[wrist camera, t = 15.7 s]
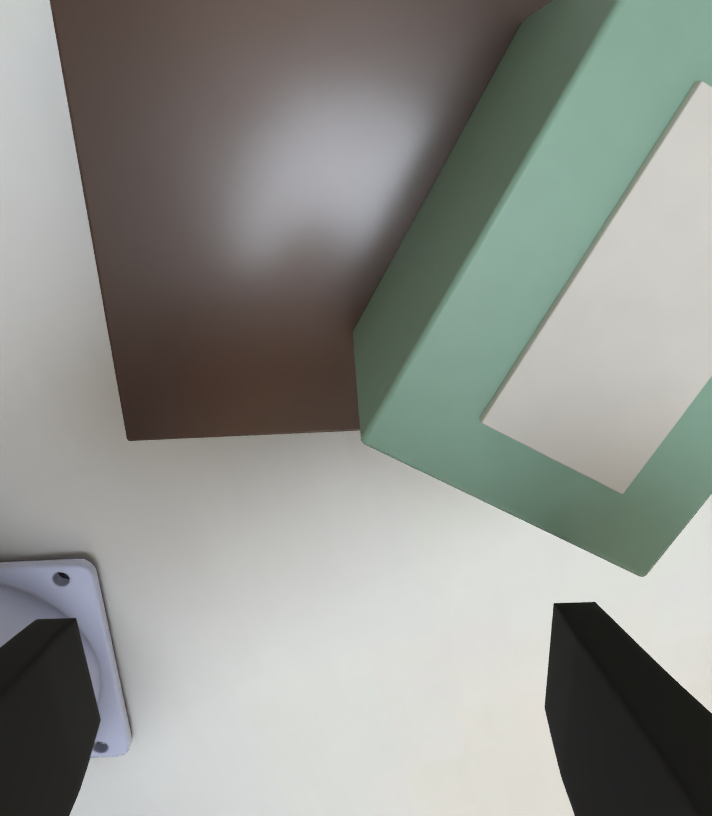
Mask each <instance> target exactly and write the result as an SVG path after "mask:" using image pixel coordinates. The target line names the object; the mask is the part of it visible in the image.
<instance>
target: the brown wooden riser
mask: <svg viewBox="0 0 712 816" xmlns="http://www.w3.org/2000/svg"><path fill="white" fill-rule="evenodd" d="M551 1H552V0H50V5H51V10H52V16H53V22H54V27H55V33H56V39H57V44H58V50H59V56H60V61H61V67H62V73H63V79H64V84H65V90H66V96H67V101H68V107H69V113H70V118H71V124H72V130H73V135H74V141H75V147H76V152H77V158H78V164H79V169H80V175H81V181H82V186H83V192H84V198H85V203H86V209H87V215H88V220H89V226H90V232H91V237H92V243H93V249H94V254H95V260H96V266H97V272H98V277H99V283H100V289H101V294H102V300H103V306H104V311H105V317H106V323H107V328H108V334H109V340H110V345H111V351H112V357H113V362H114V368H115V374H116V379H117V385H118V391H119V396H120V402H121V408H122V413H123V419H124V425H125V430H126V436H127V439H128V440H129V441H138V440H160V439H182V438H204V437H226V436H248V435H270V434H292V433H313V432H335V431H357V430H360V420H359V407H358V394H357V381H356V368H355V355H354V342H353V330H354V329H355V327H356V325H357V323H358V321H359V319H360V318H361V316H362V314H363V312H364V310H365V308H366V307H367V305H368V303H369V301H370V299H371V297H372V296H373V294H374V292H375V290H376V288H377V287H378V285H379V283H380V281H381V279H382V277H383V276H384V274H385V272H386V270H387V268H388V266H389V265H390V263H391V261H392V259H393V257H394V255H395V254H396V252H397V250H398V248H399V246H400V244H401V243H402V241H403V239H404V237H405V235H406V233H407V232H408V230H409V228H410V226H411V224H412V222H413V221H414V219H415V217H416V215H417V213H418V211H419V210H420V208H421V206H422V204H423V202H424V200H425V199H426V197H427V195H428V193H429V191H430V189H431V188H432V186H433V184H434V182H435V180H436V178H437V177H438V175H439V173H440V171H441V169H442V167H443V166H444V164H445V162H446V160H447V158H448V156H449V155H450V153H451V151H452V149H453V147H454V145H455V144H456V142H457V140H458V138H459V136H460V135H461V133H462V131H463V129H464V127H465V125H466V124H467V122H468V120H469V118H470V116H471V114H472V113H473V111H474V109H475V107H476V105H477V103H478V102H479V100H480V98H481V96H482V94H483V92H484V91H485V89H486V87H487V85H488V83H489V81H490V80H491V78H492V76H493V74H494V72H495V70H496V69H497V67H498V65H499V63H500V61H501V59H502V58H503V56H504V54H505V52H506V50H507V48H508V47H509V45H510V43H511V41H512V39H513V37H514V36H515V34H516V32H517V30H518V28H519V26H520V25H521V23H522V22H523V21H524V20H525V19H526V18H528V17H529V16H531V15H532V14H534V13H535V12H536V11H538V10H539V9H541V8H542V7H544V6H545V5H547V4H548V3H550V2H551Z"/></svg>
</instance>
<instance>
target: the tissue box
mask: <svg viewBox="0 0 712 816" xmlns="http://www.w3.org/2000/svg"><path fill="white" fill-rule="evenodd" d="M353 342H354V355H355V368H356V381H357V394H358V407H359V420H360V433H361V441H362V442H363V443H364V444H365V445H368V446H370V447H372V448H374V449H376V450H378V451H380V452H382V453H384V454H386V455H388V456H390V457H392V458H395V459H397V460H399V461H401V462H403V463H405V464H407V465H409V466H411V467H413V468H415V469H417V470H420V471H422V472H424V473H426V474H428V475H430V476H432V477H434V478H436V479H438V480H440V481H442V482H444V483H447V484H449V485H451V486H453V487H455V488H457V489H459V490H461V491H463V492H465V493H467V494H469V495H472V496H474V497H476V498H478V499H480V500H482V501H484V502H486V503H488V504H490V505H492V506H494V507H496V508H499V509H501V510H503V511H505V512H507V513H509V514H511V515H513V516H515V517H517V518H519V519H521V520H524V521H526V522H528V523H530V524H532V525H534V526H536V527H538V528H540V529H542V530H544V531H546V532H548V533H551V534H553V535H555V536H557V537H559V538H561V539H563V540H565V541H567V542H569V543H571V544H573V545H576V546H578V547H580V548H582V549H584V550H586V551H588V552H590V553H592V554H594V555H596V556H598V557H600V558H603V559H605V560H607V561H609V562H611V563H613V564H615V565H617V566H619V567H621V568H623V569H625V570H628V571H630V572H632V573H634V574H636V575H638V576H641V577H644V576H645V575H647V574H648V572H649V571H650V570H651V569H652V567H653V566H654V565H655V564H656V562H657V561H658V560H659V559H660V557H661V556H662V555H663V554H664V552H665V551H666V550H667V549H668V547H669V546H670V545H671V544H672V542H673V541H674V540H675V539H676V537H677V536H678V535H679V534H680V532H681V531H682V530H683V529H684V528H685V526H686V525H687V524H688V523H689V521H690V520H691V519H692V518H693V516H694V515H695V514H696V513H697V511H698V510H699V509H700V508H701V506H702V505H703V504H704V503H705V501H706V500H707V499H708V498H709V496H710V495H711V494H712V0H552V1H551V2H550V3H548V4H547V5H545V6H544V7H542V8H541V9H539V10H538V11H536V12H535V13H534V14H532V15H531V16H529V17H528V18H526V19H525V20H524V21H523V22H522V23H521V25H520V26H519V28H518V30H517V32H516V34H515V36H514V37H513V39H512V41H511V43H510V45H509V47H508V48H507V50H506V52H505V54H504V56H503V58H502V59H501V61H500V63H499V65H498V67H497V69H496V70H495V72H494V74H493V76H492V78H491V80H490V81H489V83H488V85H487V87H486V89H485V91H484V92H483V94H482V96H481V98H480V100H479V102H478V103H477V105H476V107H475V109H474V111H473V113H472V114H471V116H470V118H469V120H468V122H467V124H466V125H465V127H464V129H463V131H462V133H461V135H460V136H459V138H458V140H457V142H456V144H455V145H454V147H453V149H452V151H451V153H450V155H449V156H448V158H447V160H446V162H445V164H444V166H443V167H442V169H441V171H440V173H439V175H438V177H437V178H436V180H435V182H434V184H433V186H432V188H431V189H430V191H429V193H428V195H427V197H426V199H425V200H424V202H423V204H422V206H421V208H420V210H419V211H418V213H417V215H416V217H415V219H414V221H413V222H412V224H411V226H410V228H409V230H408V232H407V233H406V235H405V237H404V239H403V241H402V243H401V244H400V246H399V248H398V250H397V252H396V254H395V255H394V257H393V259H392V261H391V263H390V265H389V266H388V268H387V270H386V272H385V274H384V276H383V277H382V279H381V281H380V283H379V285H378V287H377V288H376V290H375V292H374V294H373V296H372V297H371V299H370V301H369V303H368V305H367V307H366V308H365V310H364V312H363V314H362V316H361V318H360V319H359V321H358V323H357V325H356V327H355V329H354V330H353Z"/></svg>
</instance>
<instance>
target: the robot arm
mask: <svg viewBox="0 0 712 816" xmlns="http://www.w3.org/2000/svg"><path fill="white" fill-rule="evenodd" d="M58 572H62V573H65V574H67V575H68V577H69V579H65V578H62V577H61V576H59V574H58ZM545 711H546V715H547V720H548V724H549V728H550V733H551V737H552V741H553V746H554V750H555V754H556V758H557V762H558V766H559V770H560V774H561V777H562V780H563V783H564V786H565V789H566V792H567V794H568V797H569V800H570V803H571V806H572V809H573V811H574V814H575V816H712V713H710V712H709V711H708V710H707V709H706V708H705V707H704V706H703V705H702V704H701V703H700V702H698V701H697V700H696V699H695V698H694V697H693V696H692V695H691V694H690V693H689V692H688V691H686V690H685V689H684V688H683V687H682V686H681V685H680V684H679V683H678V682H677V681H676V680H675V679H674V678H672V677H671V676H670V675H669V674H668V673H667V672H666V671H665V670H664V669H663V668H662V667H661V666H660V665H659V664H658V663H657V662H656V661H655V660H654V659H653V658H652V657H651V656H650V655H649V654H647V653H646V652H645V651H644V650H643V649H642V648H641V647H640V646H639V645H638V644H637V643H636V642H635V641H634V640H633V639H632V638H631V637H630V636H629V635H628V634H627V633H626V632H625V631H624V630H623V629H622V628H621V627H620V626H619V625H618V624H617V623H616V622H615V621H614V620H613V619H612V618H611V617H610V616H609V615H608V614H607V613H606V612H605V611H604V610H603V609H602V608H600V607H599V606H598V605H597V604H596V603H595V602H582V603H554V607H553V619H552V630H551V641H550V653H549V664H548V676H547V687H546V698H545ZM100 742H104V743H105V744H103V743H100ZM131 742H132V736H131V732H130V727H129V722H128V717H127V713H126V708H125V703H124V698H123V694H122V689H121V684H120V679H119V675H118V670H117V665H116V660H115V655H114V651H113V646H112V641H111V636H110V632H109V627H108V622H107V617H106V613H105V608H104V603H103V598H102V594H101V589H100V584H99V579H98V574H97V571H96V568H95V566H94V565H93V564H92V563H91V562H89V561H87V560H85V559H58V560H37V561H16V562H0V816H69V815H70V812H71V810H72V808H73V805H74V803H75V800H76V798H77V796H78V793H79V791H80V788H81V785H82V782H83V779H84V776H85V772H86V769H87V766H88V763H89V760H90V758H92V757H112V756H121V755H124V754H125V753H127V751H128V750H129V748H130V745H131Z"/></svg>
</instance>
